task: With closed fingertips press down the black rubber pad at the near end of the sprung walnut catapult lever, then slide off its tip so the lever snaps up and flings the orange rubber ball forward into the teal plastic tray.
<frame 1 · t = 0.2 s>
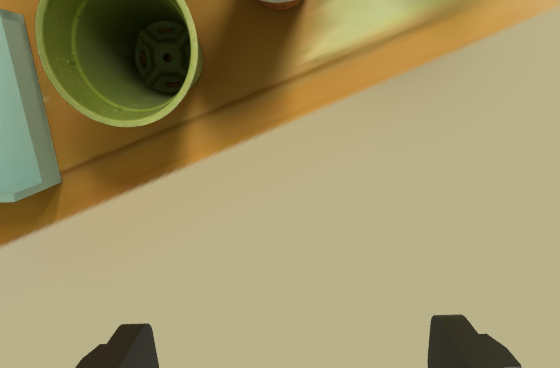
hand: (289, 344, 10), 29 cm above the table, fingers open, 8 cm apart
plant pot: (168, 58, 35), on the table
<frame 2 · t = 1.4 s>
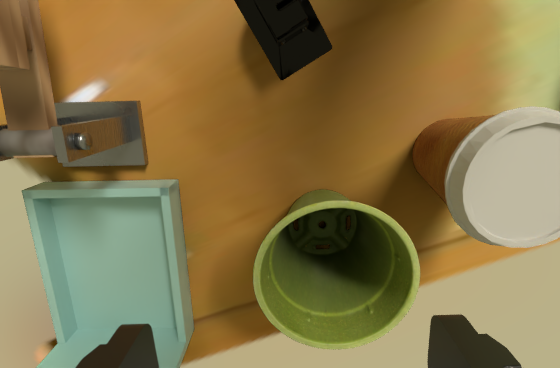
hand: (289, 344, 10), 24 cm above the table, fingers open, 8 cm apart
tray: (123, 260, 36), on the table
black box: (280, 18, 30), on the table
catapult base: (102, 128, 33), on the table
disposable coffee cup: (444, 151, 33), on the table
plant pot: (319, 220, 35), on the table
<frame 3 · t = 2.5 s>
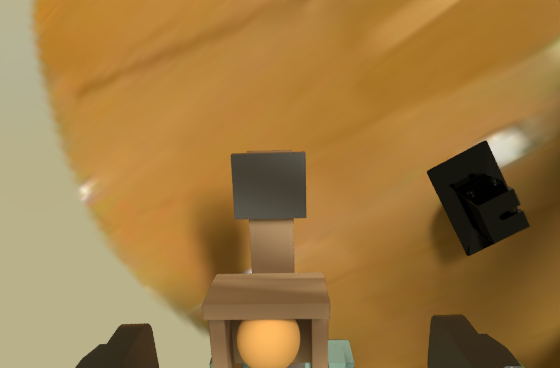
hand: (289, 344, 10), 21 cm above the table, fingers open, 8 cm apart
black box: (472, 197, 31), on the table
lever: (271, 300, 20), point 11 cm above the table, hinge at -3.4°, touching ball
ball: (268, 337, 17), point 14 cm above the table, tilted 11°, touching lever
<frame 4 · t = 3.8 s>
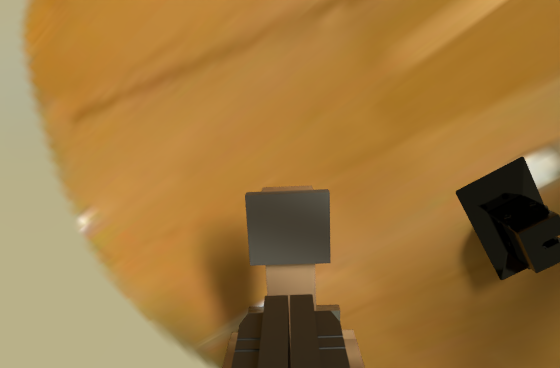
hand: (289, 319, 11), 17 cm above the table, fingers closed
black box: (505, 219, 28), on the table
lever: (293, 358, 18), point 11 cm above the table, hinge at -3.4°, touching ball
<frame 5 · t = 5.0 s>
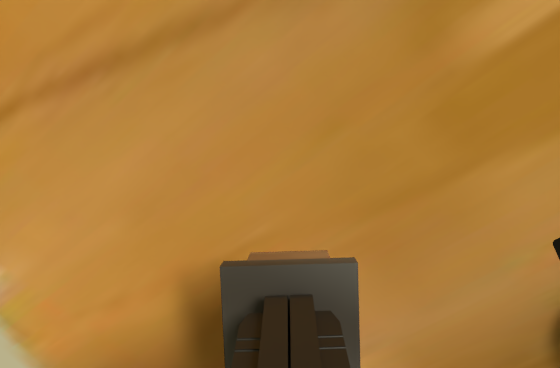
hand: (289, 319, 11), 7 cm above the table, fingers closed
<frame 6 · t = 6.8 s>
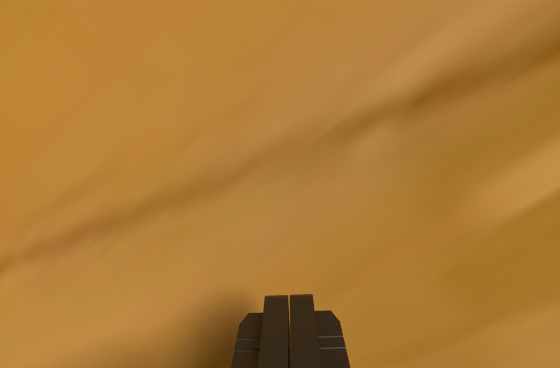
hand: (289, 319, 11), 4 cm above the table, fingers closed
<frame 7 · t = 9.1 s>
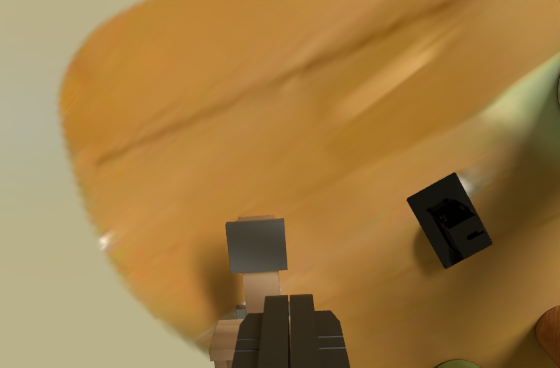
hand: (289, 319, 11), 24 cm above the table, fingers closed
black box: (446, 218, 36), on the table
lever: (262, 337, 26), point 12 cm above the table, hinge at -2.3°
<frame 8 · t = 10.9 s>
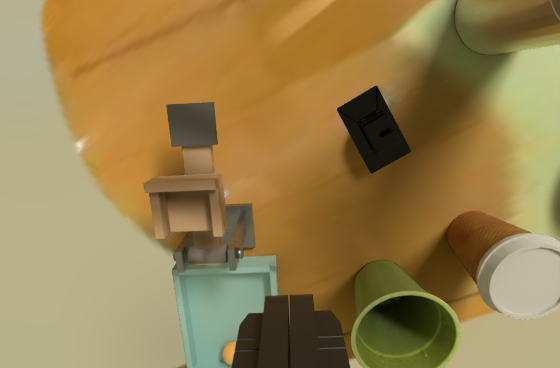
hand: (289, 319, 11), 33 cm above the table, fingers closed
tray: (233, 311, 49), on the table
black box: (372, 129, 42), on the table
catapult base: (223, 222, 46), on the table
disposable coffee cup: (469, 232, 46), on the table
lever: (194, 194, 32), point 12 cm above the table, hinge at -2.3°
plant pot: (378, 281, 48), on the table
ball: (233, 353, 48), point 2 cm above the table, tilted 74°, touching tray
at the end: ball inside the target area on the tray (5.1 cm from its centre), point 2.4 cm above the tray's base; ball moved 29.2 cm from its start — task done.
